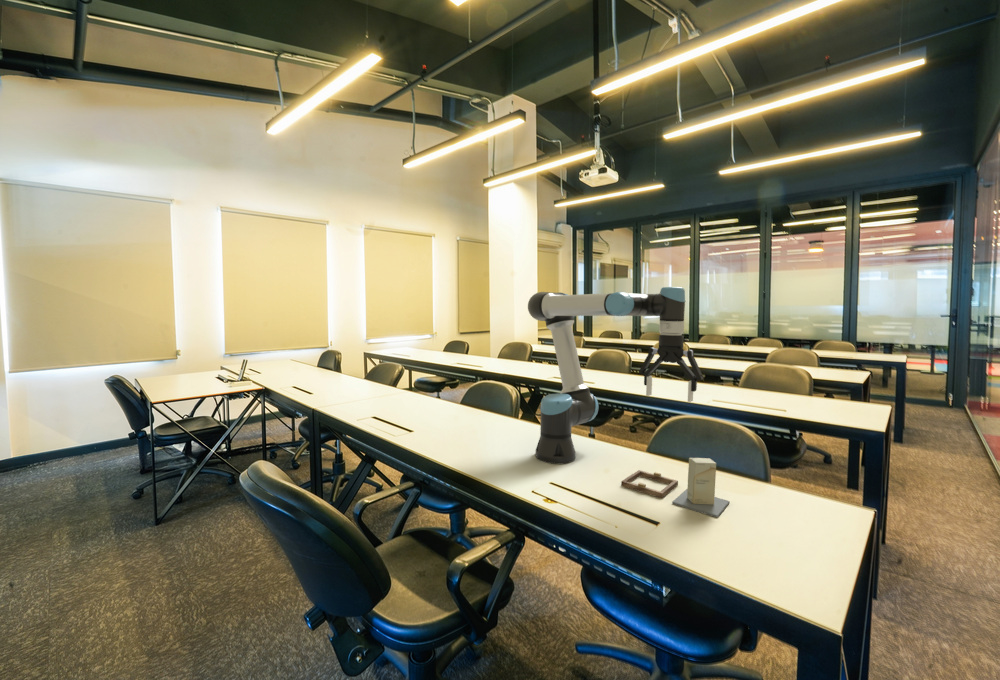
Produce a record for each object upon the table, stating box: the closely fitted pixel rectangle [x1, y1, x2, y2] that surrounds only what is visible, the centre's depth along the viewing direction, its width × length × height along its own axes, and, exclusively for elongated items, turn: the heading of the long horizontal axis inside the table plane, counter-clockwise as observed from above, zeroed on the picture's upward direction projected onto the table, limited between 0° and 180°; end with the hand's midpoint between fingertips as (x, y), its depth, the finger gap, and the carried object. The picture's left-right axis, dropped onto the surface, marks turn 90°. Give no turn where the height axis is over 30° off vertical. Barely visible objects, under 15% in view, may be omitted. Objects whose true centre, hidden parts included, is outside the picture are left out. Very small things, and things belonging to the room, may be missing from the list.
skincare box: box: [686, 457, 717, 505], centre depth 121 cm, size 6×4×12 cm
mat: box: [671, 488, 730, 518], centre depth 121 cm, size 12×12×1 cm
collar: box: [620, 469, 679, 499], centre depth 133 cm, size 13×13×2 cm
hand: (668, 398), depth 139 cm, fingers open, 13 cm apart
